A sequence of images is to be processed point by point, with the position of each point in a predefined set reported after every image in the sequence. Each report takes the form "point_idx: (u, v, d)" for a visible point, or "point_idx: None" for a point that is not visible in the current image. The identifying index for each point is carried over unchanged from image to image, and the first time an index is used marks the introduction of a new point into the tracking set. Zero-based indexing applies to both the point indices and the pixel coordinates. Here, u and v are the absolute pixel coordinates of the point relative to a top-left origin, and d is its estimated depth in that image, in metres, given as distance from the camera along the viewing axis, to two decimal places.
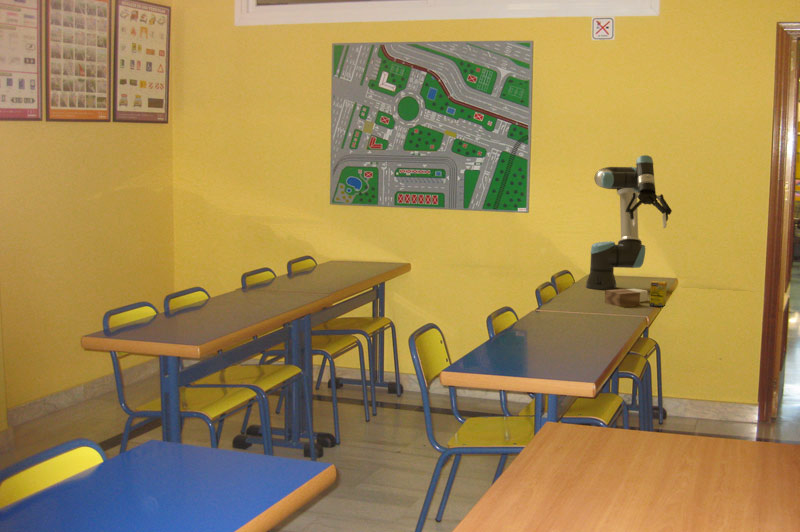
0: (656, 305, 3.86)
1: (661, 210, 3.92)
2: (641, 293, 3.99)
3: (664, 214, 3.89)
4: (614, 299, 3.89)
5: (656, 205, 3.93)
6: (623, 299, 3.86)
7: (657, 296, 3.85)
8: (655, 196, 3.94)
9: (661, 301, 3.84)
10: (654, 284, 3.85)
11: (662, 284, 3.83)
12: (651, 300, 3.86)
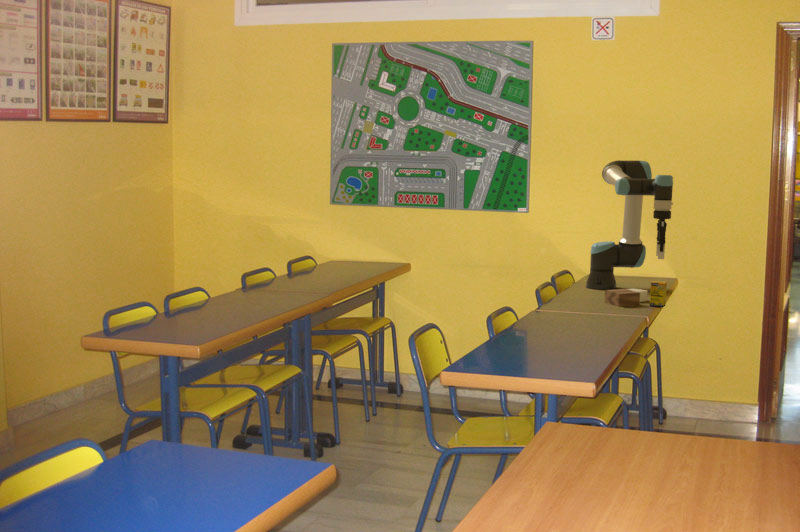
0: (656, 305, 3.86)
1: None
2: (641, 293, 3.99)
3: None
4: (613, 299, 3.89)
5: None
6: (622, 299, 3.86)
7: (657, 296, 3.85)
8: None
9: (661, 301, 3.84)
10: (654, 284, 3.85)
11: (662, 284, 3.83)
12: (651, 300, 3.86)
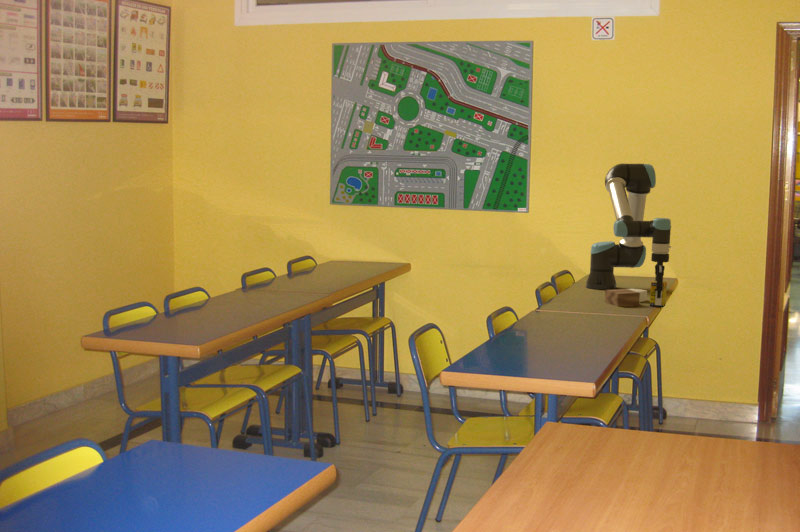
0: (656, 305, 3.86)
1: None
2: (642, 293, 3.99)
3: None
4: (613, 299, 3.89)
5: None
6: (621, 299, 3.86)
7: None
8: None
9: None
10: (654, 284, 3.85)
11: None
12: (651, 300, 3.86)
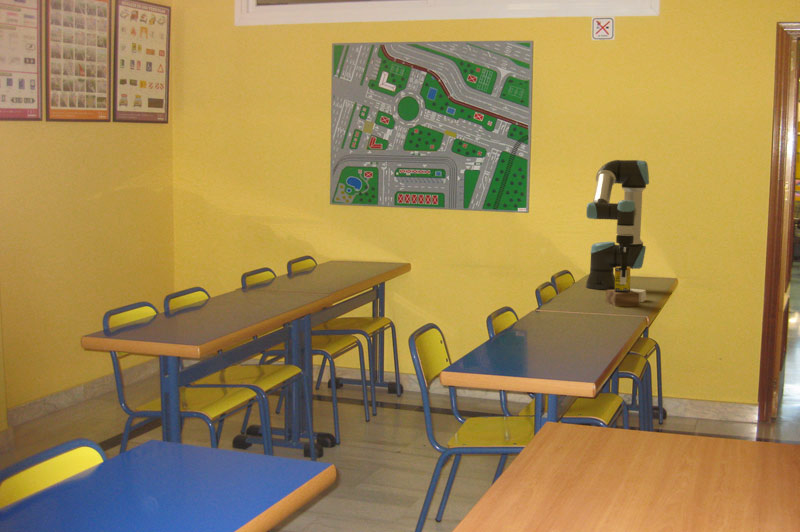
0: (621, 290, 3.89)
1: None
2: (643, 293, 4.00)
3: None
4: (611, 299, 3.90)
5: None
6: (619, 299, 3.86)
7: None
8: None
9: (626, 286, 3.88)
10: (618, 269, 3.88)
11: None
12: (616, 286, 3.90)
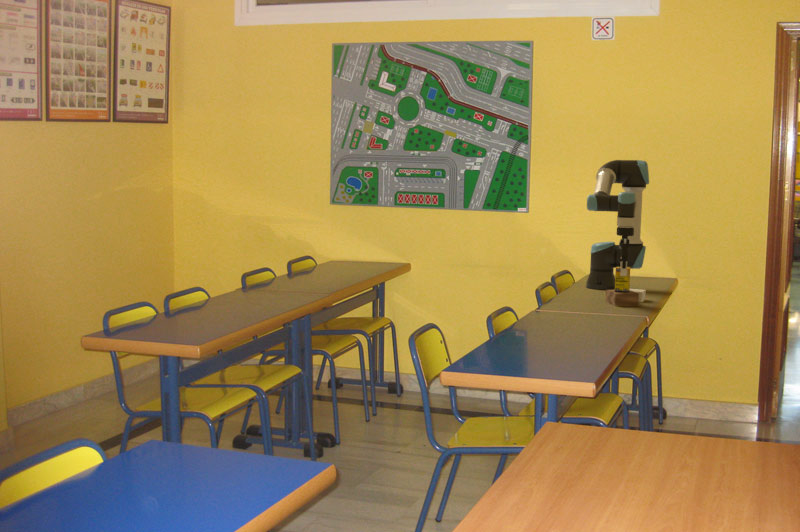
0: (621, 290, 3.89)
1: None
2: (643, 293, 4.00)
3: None
4: (611, 299, 3.90)
5: None
6: (619, 299, 3.86)
7: (622, 282, 3.89)
8: None
9: (626, 286, 3.88)
10: (619, 270, 3.88)
11: (627, 269, 3.87)
12: (616, 286, 3.90)
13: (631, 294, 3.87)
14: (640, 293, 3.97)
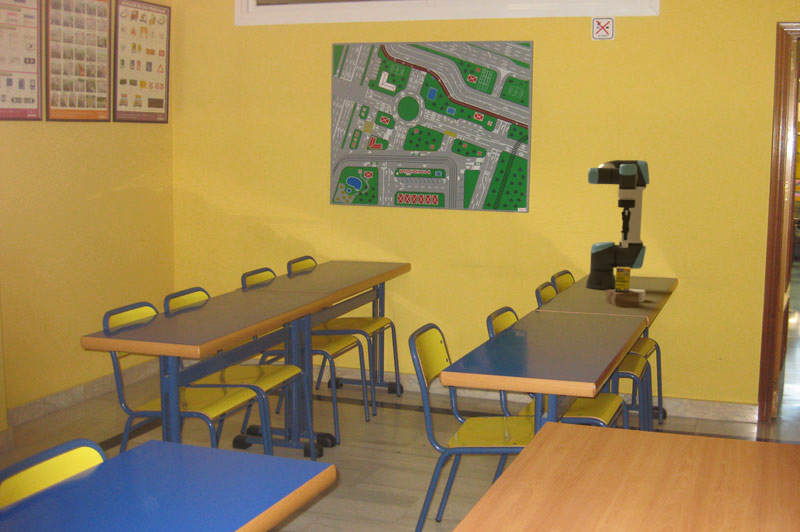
0: (622, 290, 3.89)
1: None
2: (643, 293, 4.00)
3: None
4: (612, 298, 3.90)
5: None
6: (619, 299, 3.86)
7: (622, 282, 3.88)
8: None
9: (627, 286, 3.88)
10: (619, 270, 3.88)
11: (627, 270, 3.87)
12: (617, 286, 3.90)
13: (631, 294, 3.87)
14: (640, 293, 3.97)
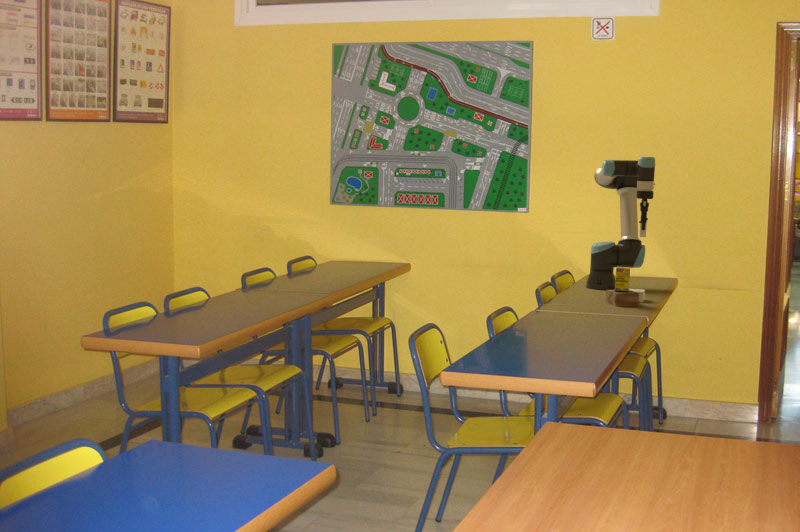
0: (621, 290, 3.89)
1: None
2: (643, 293, 4.00)
3: None
4: (611, 299, 3.90)
5: None
6: (619, 299, 3.86)
7: (622, 282, 3.89)
8: None
9: (626, 286, 3.88)
10: (619, 270, 3.89)
11: (627, 269, 3.88)
12: (616, 286, 3.90)
13: (631, 294, 3.87)
14: (641, 293, 3.97)
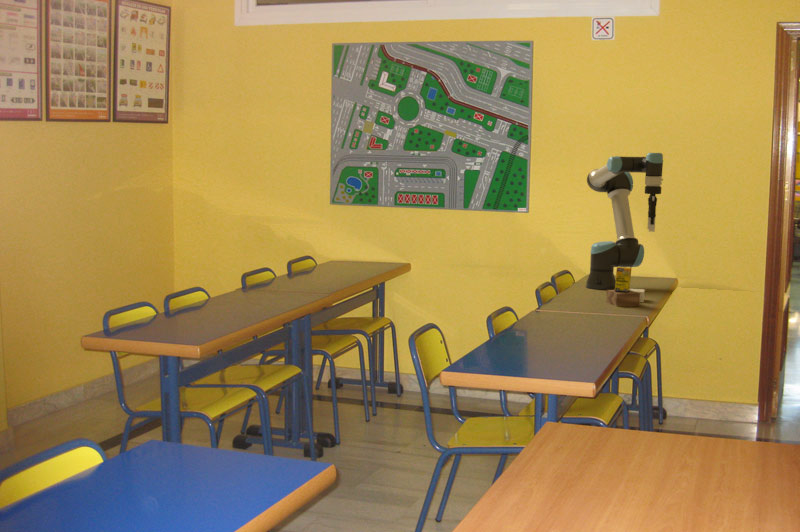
0: (621, 290, 3.89)
1: None
2: None
3: None
4: (612, 299, 3.90)
5: None
6: (620, 299, 3.86)
7: (622, 282, 3.88)
8: None
9: (627, 286, 3.88)
10: (620, 269, 3.88)
11: (628, 269, 3.87)
12: (616, 285, 3.90)
13: (632, 294, 3.87)
14: (641, 293, 3.97)
